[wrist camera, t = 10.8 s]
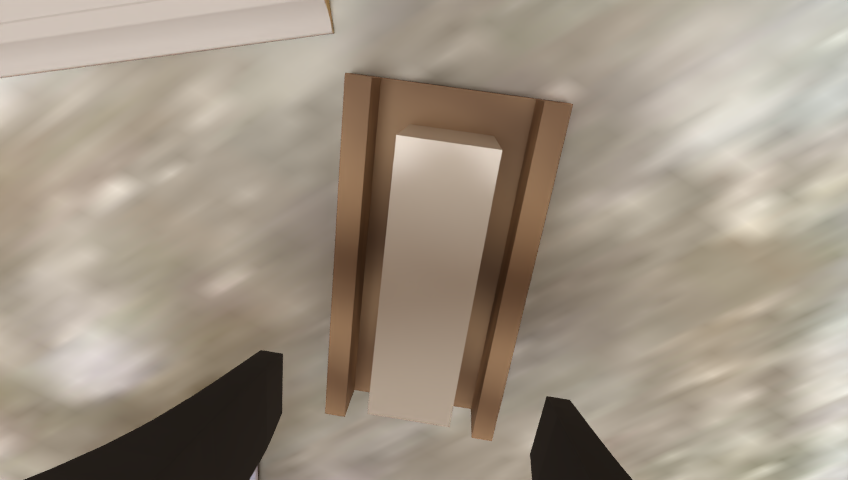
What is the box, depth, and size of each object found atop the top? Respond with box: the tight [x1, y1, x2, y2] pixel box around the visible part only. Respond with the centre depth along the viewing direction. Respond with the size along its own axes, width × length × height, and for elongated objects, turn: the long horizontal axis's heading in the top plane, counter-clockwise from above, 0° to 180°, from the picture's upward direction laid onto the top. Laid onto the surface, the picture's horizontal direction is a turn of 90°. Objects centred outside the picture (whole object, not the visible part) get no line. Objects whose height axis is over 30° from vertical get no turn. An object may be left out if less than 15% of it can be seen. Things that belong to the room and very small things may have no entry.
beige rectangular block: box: [368, 124, 502, 427], centre depth 18 cm, size 12×4×4 cm, turn 173°
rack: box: [325, 73, 573, 441], centre depth 20 cm, size 16×9×3 cm, turn 173°
